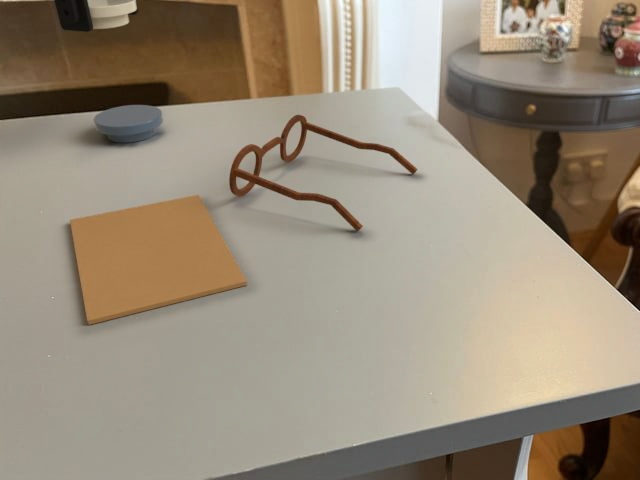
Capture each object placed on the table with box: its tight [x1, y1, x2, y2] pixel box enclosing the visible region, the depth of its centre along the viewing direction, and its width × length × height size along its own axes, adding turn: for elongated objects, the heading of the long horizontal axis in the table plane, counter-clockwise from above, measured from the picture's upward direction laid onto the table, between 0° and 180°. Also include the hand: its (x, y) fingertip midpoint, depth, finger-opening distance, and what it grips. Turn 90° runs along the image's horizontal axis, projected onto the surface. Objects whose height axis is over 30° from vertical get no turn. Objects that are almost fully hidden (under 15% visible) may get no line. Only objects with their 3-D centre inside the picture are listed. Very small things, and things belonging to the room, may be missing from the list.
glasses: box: [228, 114, 418, 232], centre depth 60 cm, size 13×13×5 cm
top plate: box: [87, 0, 138, 30], centre depth 66 cm, size 7×7×2 cm
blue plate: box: [93, 104, 164, 144], centre depth 73 cm, size 7×7×2 cm
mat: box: [69, 194, 248, 326], centre depth 52 cm, size 16×11×1 cm
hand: (102, 20), depth 66 cm, fingers closed on top plate, 7 cm apart
